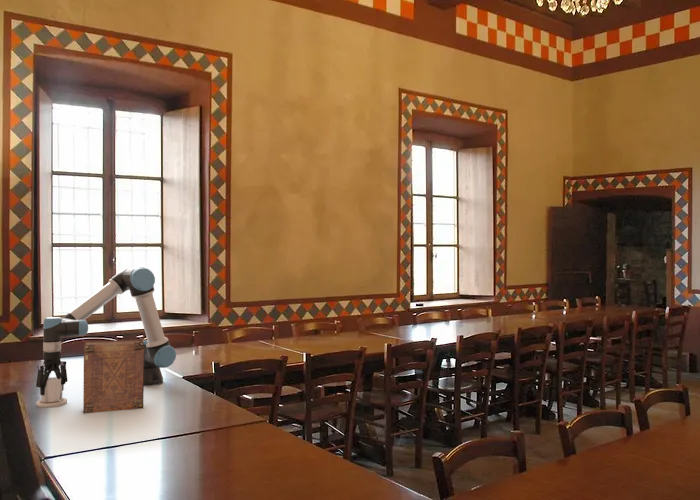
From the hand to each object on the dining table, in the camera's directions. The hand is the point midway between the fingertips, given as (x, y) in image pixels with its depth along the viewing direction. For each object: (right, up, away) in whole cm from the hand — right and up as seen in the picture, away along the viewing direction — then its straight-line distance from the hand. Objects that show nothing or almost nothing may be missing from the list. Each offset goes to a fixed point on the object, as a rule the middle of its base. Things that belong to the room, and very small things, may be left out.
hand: (52, 399), depth 293 cm
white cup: (0, 0, 0) cm, 0 cm away
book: (+31, -2, -7) cm, 32 cm away
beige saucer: (0, -2, 0) cm, 2 cm away
